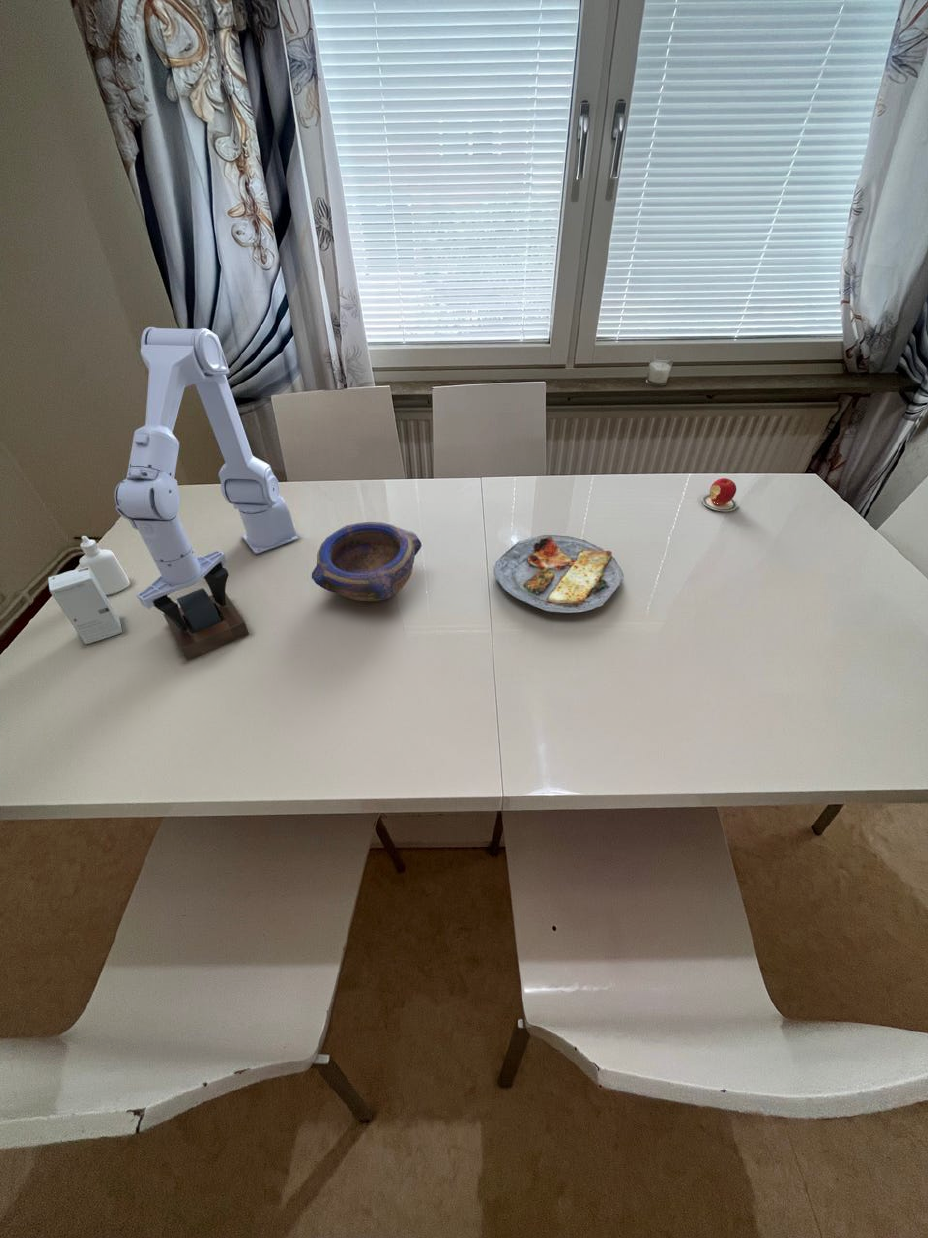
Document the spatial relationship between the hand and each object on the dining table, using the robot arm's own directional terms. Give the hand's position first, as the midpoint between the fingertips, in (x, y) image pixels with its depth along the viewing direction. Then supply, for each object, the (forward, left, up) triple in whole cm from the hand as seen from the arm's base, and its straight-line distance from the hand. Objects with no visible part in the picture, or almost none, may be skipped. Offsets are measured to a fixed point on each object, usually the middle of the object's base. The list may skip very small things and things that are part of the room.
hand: (202, 615), depth 89 cm
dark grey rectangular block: (0, 0, -3) cm, 4 cm away
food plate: (-60, +27, -4) cm, 66 cm away
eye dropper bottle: (+11, -23, -4) cm, 26 cm away
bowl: (-29, +7, -4) cm, 30 cm away
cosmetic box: (+15, -11, -4) cm, 19 cm away
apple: (-111, +30, -4) cm, 115 cm away
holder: (0, 0, -3) cm, 3 cm away
